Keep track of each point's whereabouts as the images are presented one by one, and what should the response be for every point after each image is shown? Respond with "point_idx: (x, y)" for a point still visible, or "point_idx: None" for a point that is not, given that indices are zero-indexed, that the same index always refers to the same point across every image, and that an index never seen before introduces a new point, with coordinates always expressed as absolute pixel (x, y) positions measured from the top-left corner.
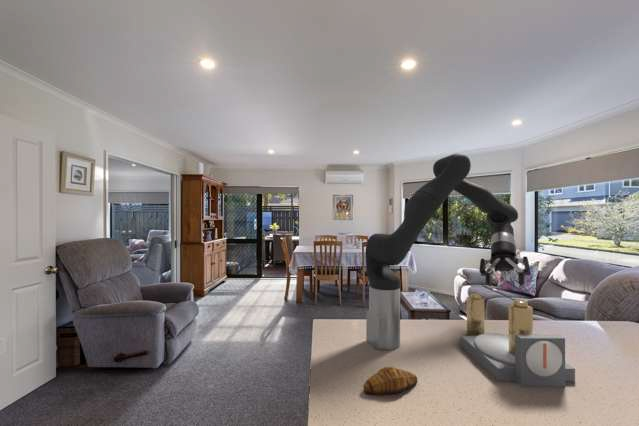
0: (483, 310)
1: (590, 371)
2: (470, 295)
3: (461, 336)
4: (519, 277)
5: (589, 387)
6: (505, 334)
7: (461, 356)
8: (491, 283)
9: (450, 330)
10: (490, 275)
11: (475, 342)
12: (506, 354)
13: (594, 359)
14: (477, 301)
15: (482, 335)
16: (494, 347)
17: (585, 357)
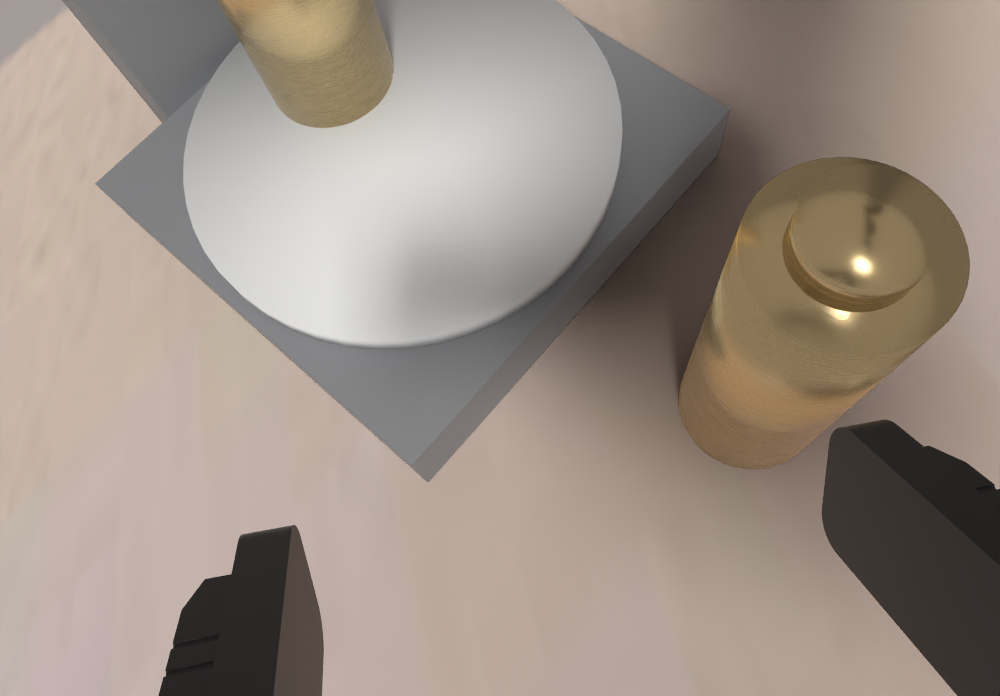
0: (716, 300)
1: (58, 412)
2: (915, 192)
3: (725, 108)
4: (254, 614)
5: (83, 214)
6: (489, 311)
7: (641, 39)
8: (865, 585)
9: (943, 349)
10: (998, 629)
11: (589, 37)
12: (390, 11)
13: (12, 647)
14: (775, 180)
15: (603, 158)
16: (470, 43)
17: (60, 636)
